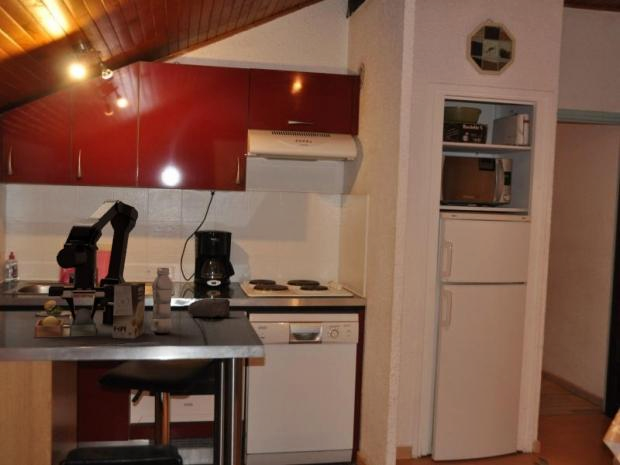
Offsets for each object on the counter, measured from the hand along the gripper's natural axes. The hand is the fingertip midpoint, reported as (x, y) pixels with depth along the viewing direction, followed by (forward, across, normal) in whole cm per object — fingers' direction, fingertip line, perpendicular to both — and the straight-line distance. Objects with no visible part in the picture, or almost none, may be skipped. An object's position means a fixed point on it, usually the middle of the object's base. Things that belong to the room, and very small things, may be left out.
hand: (83, 319), depth 170 cm
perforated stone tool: (+5, -42, -29) cm, 52 cm away
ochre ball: (+4, +9, -5) cm, 11 cm away
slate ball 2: (+4, 0, -5) cm, 7 cm away
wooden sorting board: (+5, +4, -6) cm, 9 cm away
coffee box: (+5, -12, +4) cm, 14 cm away
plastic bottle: (+5, -22, -2) cm, 23 cm away
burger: (+6, +10, -38) cm, 39 cm away
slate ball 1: (+1, 0, 0) cm, 1 cm away
